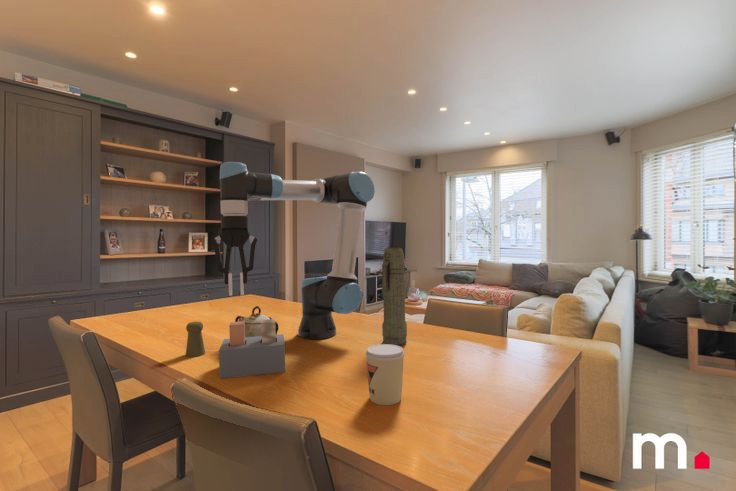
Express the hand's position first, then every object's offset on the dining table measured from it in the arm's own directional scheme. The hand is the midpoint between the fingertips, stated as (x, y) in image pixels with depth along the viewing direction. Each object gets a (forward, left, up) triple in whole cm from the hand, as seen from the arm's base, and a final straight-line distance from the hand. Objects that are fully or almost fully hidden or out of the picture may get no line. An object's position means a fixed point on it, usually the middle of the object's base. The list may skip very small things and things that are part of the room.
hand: (236, 294), depth 112 cm
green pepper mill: (+16, -20, -23) cm, 34 cm away
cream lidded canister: (-36, +31, -23) cm, 53 cm away
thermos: (-53, -13, -23) cm, 60 cm away
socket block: (-4, 0, -23) cm, 23 cm away
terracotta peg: (0, 0, -17) cm, 17 cm away
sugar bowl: (-4, -21, -23) cm, 31 cm away
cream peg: (-9, 0, -17) cm, 19 cm away
